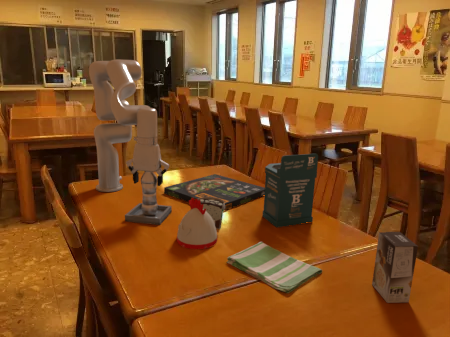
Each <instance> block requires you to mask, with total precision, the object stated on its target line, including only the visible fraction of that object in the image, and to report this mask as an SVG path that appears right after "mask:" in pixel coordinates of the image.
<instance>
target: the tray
mask: <svg viewBox="0 0 450 337" xmlns="http://www.w3.org/2000/svg"><path fill="white" fill-rule="evenodd" d="M172 207H173V206H172V205H162V204H158V212H157V213H156V214H155V215H151V216H147V215H144V214H143V213H142V202H141V203H140V202H139V203H138V204H137V205H135V206H134V207H133V208H132V209H130V210H129V211H128V212H126V214H124V221H125V222H128V223H137V224H138V223H139V224H148V225H154V226H155V225H156V226H157V225H158V226H160V225H161V224H162V223H163V222H165V220H166V219H167V217H168V216H169V215H171V213H172V212H173V211H172Z"/></svg>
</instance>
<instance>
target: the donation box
mask: <svg viewBox="0 0 450 337" xmlns="http://www.w3.org/2000/svg"><path fill="white" fill-rule="evenodd" d="M318 162H319V155H318V153H305V154H291V155H290V154H288V155H282V156H281V158H280V162H278V163H277V162H276V163H269V164H267V165H266V166H265V167H264V173H265V182H264V188H265V196H263V197H264V198H263V199H264V200H263V201H264V202H263V210H262V214H261V215H262V218H264V219H265V220H266V221H268V222H269V223H270V224H272V225H273V226H274V227H275V228H277V229H278V228H282V227H283V226H284V227H290V226H289V225H292V226H297V225H296V224H299V225H302V224H301V223H305V224H307V223H306V222H312V223H313V221H314V218H313V217H314V216H313V204H314V194H315V184H316V178H317V177H318Z"/></svg>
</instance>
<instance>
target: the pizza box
mask: <svg viewBox="0 0 450 337" xmlns="http://www.w3.org/2000/svg"><path fill="white" fill-rule="evenodd" d="M163 190H164V191H163V192H164V194H165V195H167V196H171V197H173V198H176V199H179V200H181V201H184V202H187V203H189V200H191V199H192V198H194V201H195V199H198V198H201V197H215V198H219V199H222V200H223V201H224V203H225V209H224V210H223V212H225V211H227V210H231V209H233V208H236V207H238V206H241V205H243V204H246V203H248V202H252V201H254V200H257V199H259V198H258V197H260V198H262V197H264V196H263V195H265V186H260V185H256V184H253V183H249V182H246V181H243V180H242V181H241V180H238V179H234V178H231V177H227V176H223V175H219V174H216V173H214V174H211V175H207V176H202V177H199V178H195V179H191V180H187V181H183V182H179V183H175V184H172V185H168V186H165V187H164V188H163ZM261 196H262V197H261ZM256 198H257V199H256ZM251 200H252V201H251Z"/></svg>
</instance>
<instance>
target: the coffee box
mask: <svg viewBox="0 0 450 337" xmlns="http://www.w3.org/2000/svg"><path fill="white" fill-rule="evenodd" d="M377 239H378V240H377V245H376V252H375V261H374V269H373V273H372V274H373V275H372V276H373V277H372V283H371V285H372V287H374V289H375V290H376V291H377V292H378V294H379V295H380V296H381V297H382V298H383V299H384V301H385V303H387V304H389V303H393V304H394V303H399V304H400V303H409V302H410V296H411V291H412V286H413V285H412V284H413V280H414V273H415V266H416V262H417V261H416V260H417V255H418V249H419V245H417V244H416V243H415V242H414V241H412V240H411V239H410V238H408V237H407V236H405V234H404V233H402V232H400V231H386V232H378V237H377Z"/></svg>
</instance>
